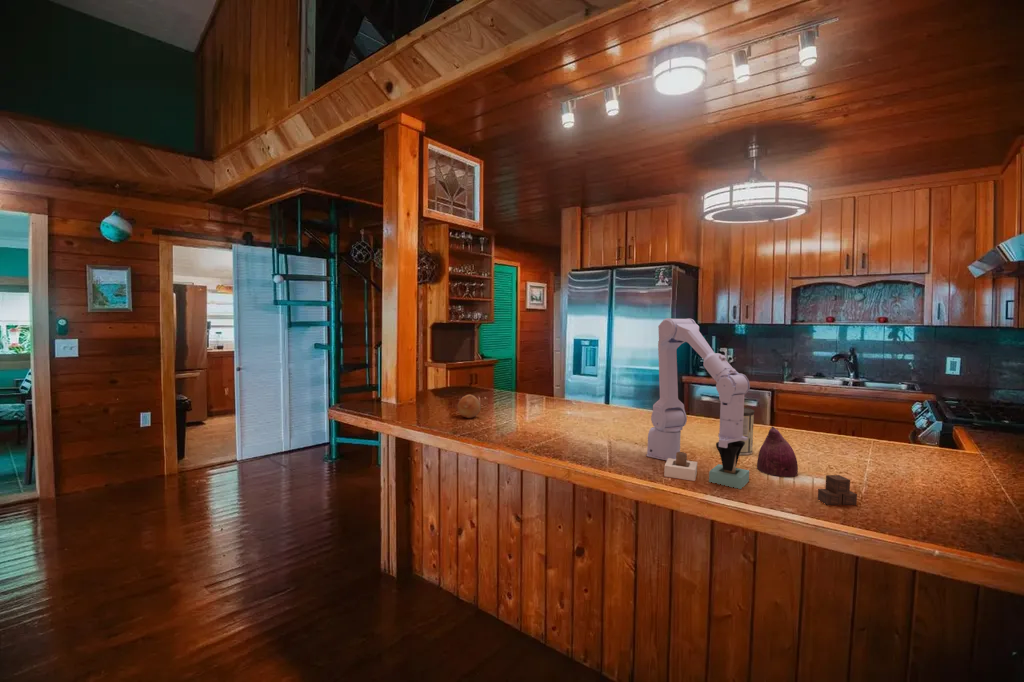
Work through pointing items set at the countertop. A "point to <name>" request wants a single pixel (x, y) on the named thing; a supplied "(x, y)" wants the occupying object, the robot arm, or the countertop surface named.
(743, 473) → the teal square frame block
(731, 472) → the maple dowel
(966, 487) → the countertop surface
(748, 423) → the coffee can
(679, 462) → the walnut dowel
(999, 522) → the countertop surface
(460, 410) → the onion
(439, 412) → the countertop surface
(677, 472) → the white peg holder
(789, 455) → the vegetable
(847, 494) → the stack of crates
